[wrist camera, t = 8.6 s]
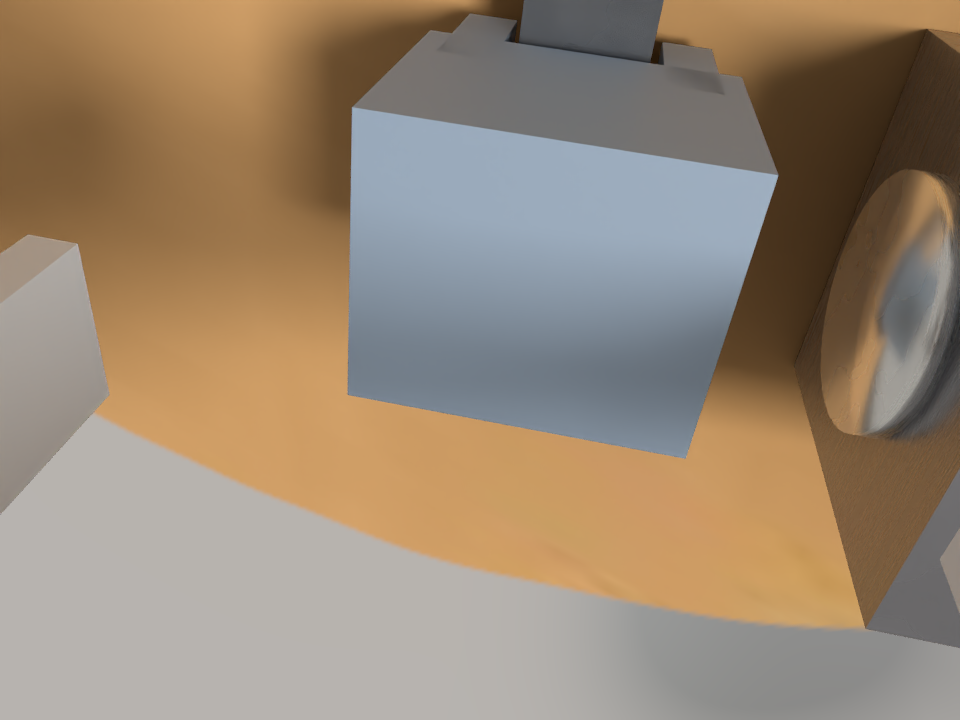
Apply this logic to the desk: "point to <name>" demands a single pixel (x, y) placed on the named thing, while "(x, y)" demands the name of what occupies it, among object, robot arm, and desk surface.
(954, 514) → the cabinet
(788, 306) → the desk surface
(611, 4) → the rail
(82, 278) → the robot arm
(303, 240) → the desk surface
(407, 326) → the block
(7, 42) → the desk surface
